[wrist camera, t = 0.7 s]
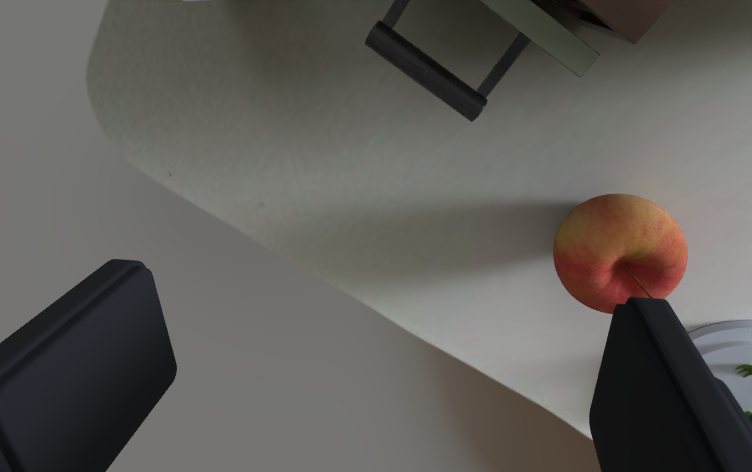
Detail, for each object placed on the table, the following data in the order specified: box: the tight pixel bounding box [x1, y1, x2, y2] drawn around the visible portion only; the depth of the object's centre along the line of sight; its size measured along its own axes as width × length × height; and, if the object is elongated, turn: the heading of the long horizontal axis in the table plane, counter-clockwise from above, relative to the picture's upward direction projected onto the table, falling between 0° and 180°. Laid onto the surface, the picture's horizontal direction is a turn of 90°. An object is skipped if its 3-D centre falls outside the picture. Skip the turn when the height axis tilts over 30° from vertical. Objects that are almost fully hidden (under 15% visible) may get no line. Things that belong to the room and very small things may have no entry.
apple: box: [553, 194, 688, 314], centre depth 30 cm, size 7×7×8 cm
